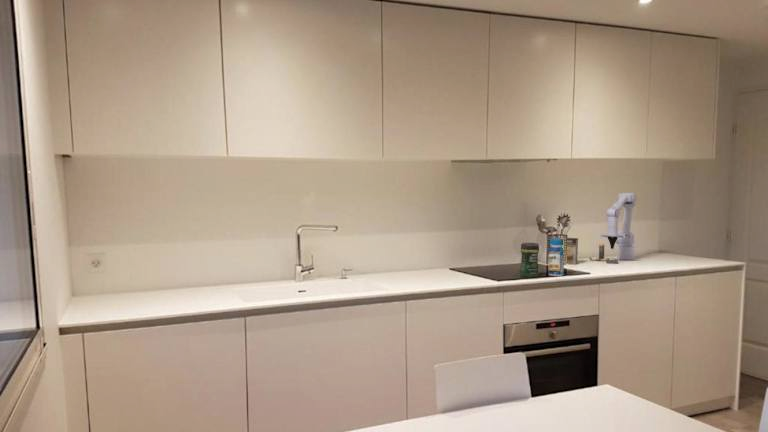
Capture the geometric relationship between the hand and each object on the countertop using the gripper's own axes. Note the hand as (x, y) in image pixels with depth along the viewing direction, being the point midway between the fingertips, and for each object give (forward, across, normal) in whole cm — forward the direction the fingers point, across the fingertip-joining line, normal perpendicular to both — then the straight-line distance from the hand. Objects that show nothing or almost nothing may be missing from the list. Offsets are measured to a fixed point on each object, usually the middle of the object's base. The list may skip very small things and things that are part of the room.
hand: (612, 248), depth 331 cm
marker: (+8, -5, +11) cm, 14 cm away
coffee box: (+9, -26, -9) cm, 29 cm away
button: (+10, 0, 0) cm, 10 cm away
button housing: (+9, 0, 0) cm, 9 cm away
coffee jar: (+9, -49, -62) cm, 80 cm away
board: (+9, -6, +11) cm, 15 cm away
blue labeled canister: (+9, -35, -54) cm, 65 cm away
